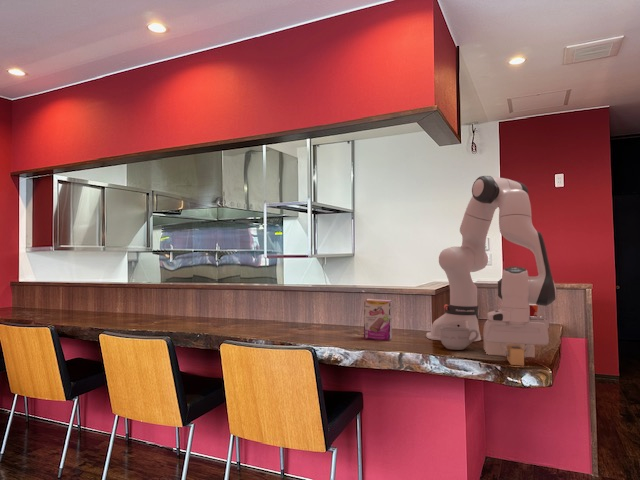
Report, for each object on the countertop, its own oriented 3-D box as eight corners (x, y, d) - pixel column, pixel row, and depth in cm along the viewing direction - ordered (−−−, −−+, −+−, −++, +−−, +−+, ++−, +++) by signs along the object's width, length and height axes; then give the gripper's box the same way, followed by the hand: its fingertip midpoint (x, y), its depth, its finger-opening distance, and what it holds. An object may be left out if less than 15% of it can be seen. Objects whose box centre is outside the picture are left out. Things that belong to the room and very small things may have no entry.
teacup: (438, 350, 168) (438, 328, 168) (441, 344, 178) (441, 324, 178) (478, 353, 163) (478, 331, 163) (479, 347, 173) (479, 326, 173)
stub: (510, 364, 147) (510, 348, 147) (506, 358, 155) (506, 343, 155) (524, 365, 146) (524, 349, 146) (519, 359, 154) (519, 344, 154)
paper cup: (540, 333, 204) (540, 302, 204) (522, 332, 205) (522, 302, 205) (535, 330, 211) (535, 300, 212) (518, 329, 213) (518, 300, 213)
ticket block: (486, 354, 162) (486, 340, 162) (483, 349, 170) (483, 335, 171) (534, 357, 158) (534, 342, 158) (529, 351, 167) (529, 337, 167)
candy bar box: (363, 339, 187) (363, 299, 188) (366, 337, 192) (366, 298, 193) (390, 341, 184) (390, 301, 184) (392, 338, 189) (392, 299, 189)
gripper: (546, 315, 152) (546, 356, 151) (482, 312, 156) (482, 352, 156) (551, 318, 145) (551, 361, 145) (484, 315, 150) (484, 356, 150)
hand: (515, 356), depth 151 cm, fingers closed on stub, 4 cm apart
